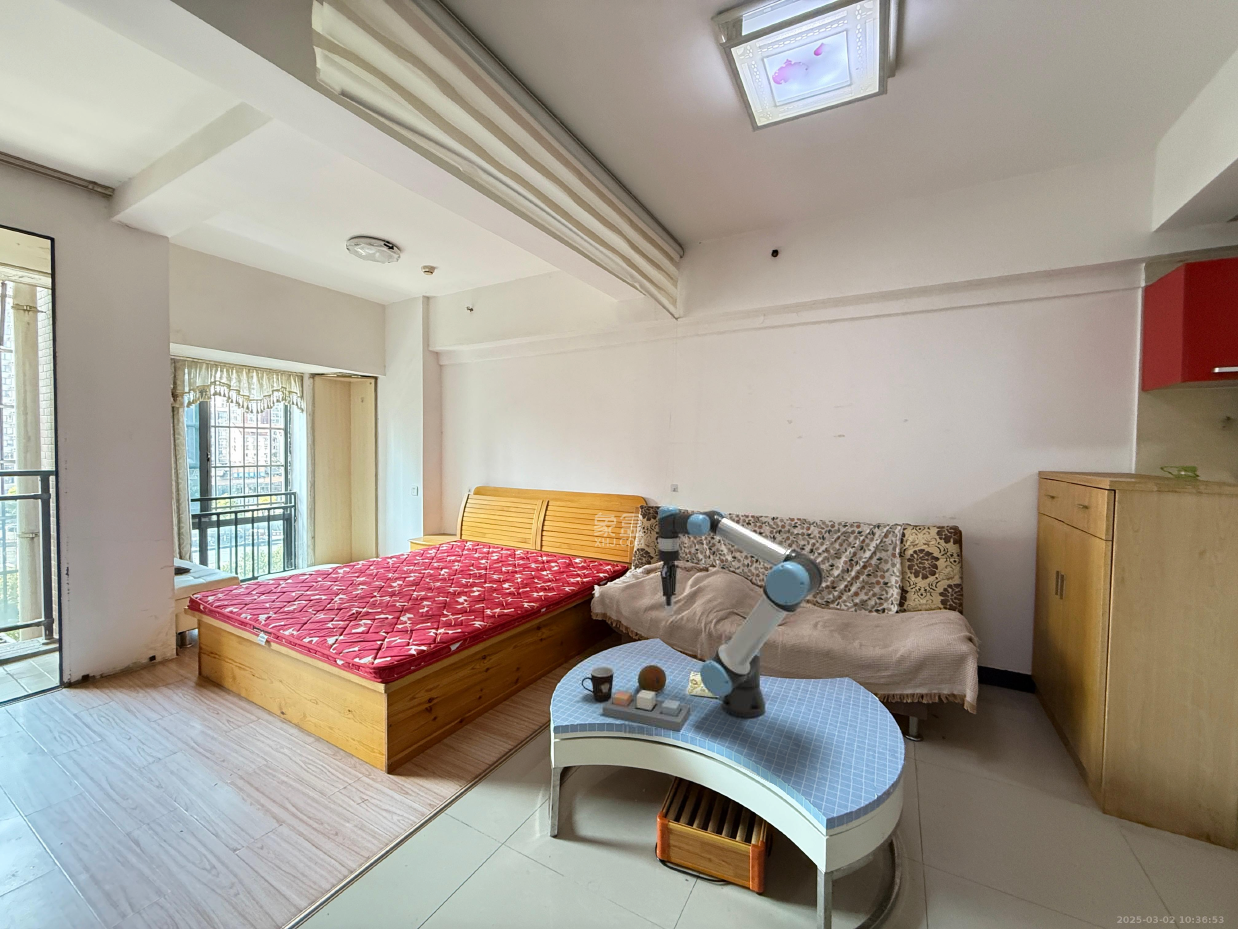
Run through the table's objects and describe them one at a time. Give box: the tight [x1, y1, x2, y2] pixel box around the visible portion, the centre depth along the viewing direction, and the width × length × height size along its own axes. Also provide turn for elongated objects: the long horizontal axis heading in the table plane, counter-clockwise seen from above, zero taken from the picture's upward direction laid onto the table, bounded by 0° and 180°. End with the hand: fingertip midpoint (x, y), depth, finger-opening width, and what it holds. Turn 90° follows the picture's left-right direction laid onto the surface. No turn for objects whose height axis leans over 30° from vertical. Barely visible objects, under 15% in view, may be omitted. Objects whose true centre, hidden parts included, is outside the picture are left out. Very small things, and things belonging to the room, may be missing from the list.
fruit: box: [637, 664, 667, 694], centre depth 193 cm, size 12×13×10 cm
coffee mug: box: [581, 666, 615, 703], centre depth 188 cm, size 12×9×10 cm
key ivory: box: [636, 689, 657, 711], centre depth 175 cm, size 5×5×4 cm
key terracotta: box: [612, 690, 633, 707], centre depth 178 cm, size 5×5×4 cm
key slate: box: [662, 699, 681, 717], centre depth 171 cm, size 5×5×4 cm
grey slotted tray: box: [602, 691, 691, 732], centre depth 175 cm, size 28×12×3 cm, turn 66°
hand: (669, 613), depth 184 cm, fingers closed
